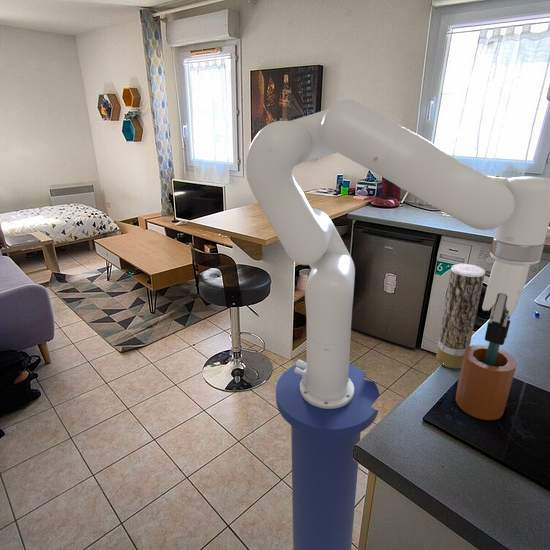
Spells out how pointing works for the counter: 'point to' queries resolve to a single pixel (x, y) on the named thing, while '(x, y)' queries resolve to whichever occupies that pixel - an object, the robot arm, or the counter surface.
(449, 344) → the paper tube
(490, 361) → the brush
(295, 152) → the robot arm
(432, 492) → the counter surface
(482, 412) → the orange hollow cylinder
